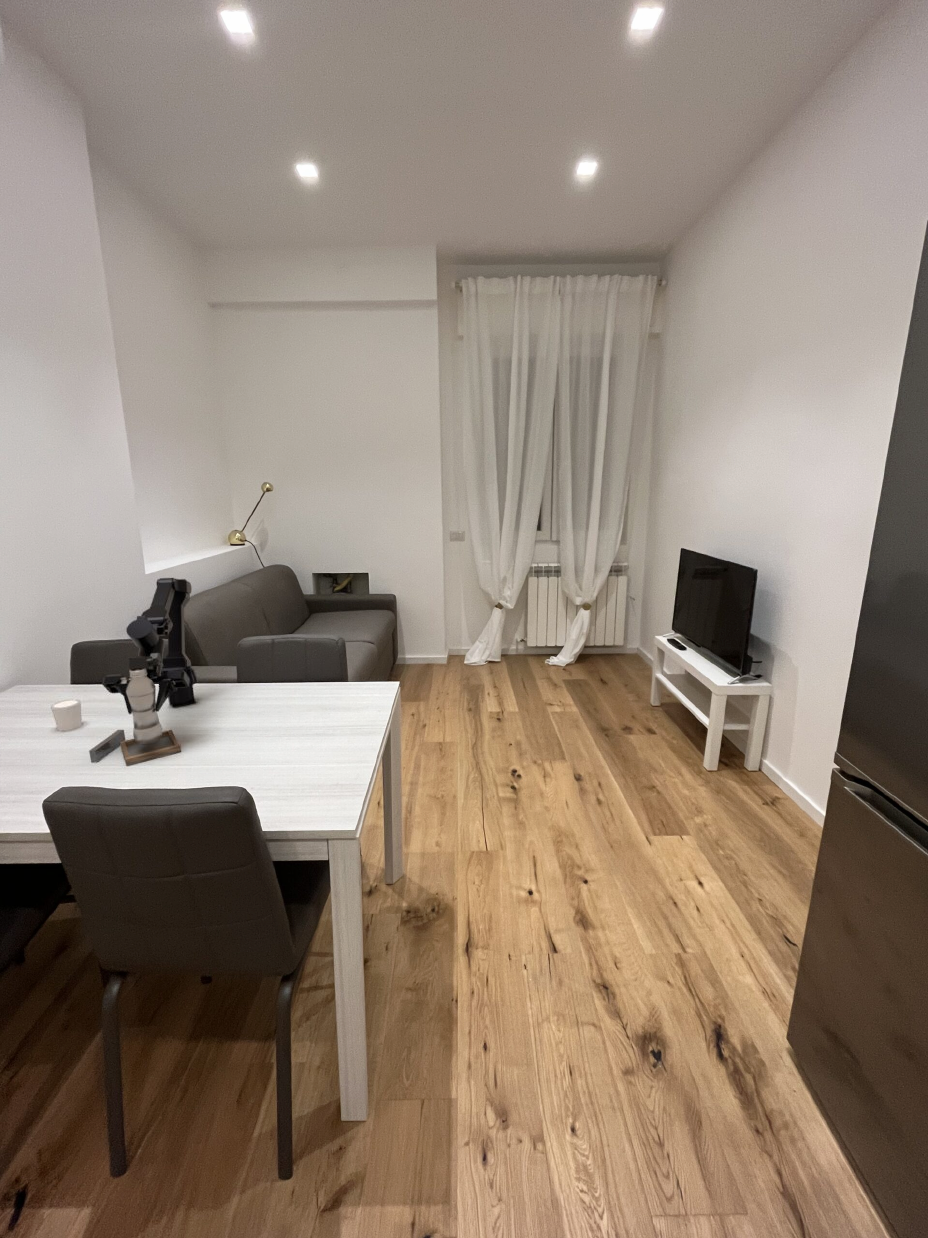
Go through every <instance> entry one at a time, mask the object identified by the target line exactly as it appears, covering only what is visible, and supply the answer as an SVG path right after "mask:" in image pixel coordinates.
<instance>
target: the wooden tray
mask: <svg viewBox="0 0 928 1238" xmlns="http://www.w3.org/2000/svg"><path fill="white" fill-rule="evenodd" d="M119 746H120V749H121V753H122V755H123V759H124V762H125V766H126V767H127V766H132V764H133V765H136V764H140V763H144V762H147V761H151V760H155V759H158V758H162V757H166V756H171V755H175V754H178V753H181V752H182V748H181V744H180V742H179V741H178V738H177V737H176V735H175V734H174V732H173V730H172V729H169V730H165V731H162V737H161V739H160V740H159V741H157V742H155V743H153V744H149V745H140V744H138V743H137V742H136V741H135V739H134V738H131V739H130V738H129V739H125V741H121V742H120V745H119Z"/></svg>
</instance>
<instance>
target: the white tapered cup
mask: <svg viewBox="0 0 928 1238" xmlns="http://www.w3.org/2000/svg"><path fill="white" fill-rule="evenodd" d="M50 709H51V713H52V716H53V719H54V721H55V725H56V727H57V728H56V729H57V730H58V731H60V732H68V731H73V730H76V729H79V728H80V727H81V726H83V721H82V719H83V718H82V716H83V715H82V702H81V701H80V699H65V700H61V701H58V702H55V703H53V704H51V705H50ZM78 727H79V728H78Z"/></svg>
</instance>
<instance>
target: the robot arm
mask: <svg viewBox="0 0 928 1238" xmlns="http://www.w3.org/2000/svg"><path fill="white" fill-rule="evenodd" d="M192 588H193V587H192V584H191V582H190V581H188V580H187V579H186V578H181V579H180V578H175V577H161V578H158V579H156V589H155V591H154V594H153V598H152V601H151V603H150V606H149V608H148V609H146V610H144V611H142V613H141V615H137V616H136V619H135V620H133V621H132V622H129V624H128V626H126V629H125V630H126V634H127V636H128V637H129V638H130V640H131V641H132V642H133V644H134V645H135V646H136V647H137V648H139V649H138V655H136V656H134V657H133V656H132V657H127V671H128V672H130V670H134V669H145V668H146V669H147V673H148V674H147V677H148V678H149V679H151V680H152V681H153V683H154V684H155V685H158V692H157V696H156V709H155V710H156V712H157V713H158V712H159V711H160V710H161V708H162V707H163V705H164V704H165V703H166V700H168V704H169V705H170V706H172V708H174V709H175V708H178V707H179V708H180V707H183V706H188V705H193V704H196V703H197V701H196V700H195V695H194V685H195V684H197V683H198V677H197V673H196V671H195V669H194V668H193V666H192V661H191V660H190V659H189V657H188V656H187V654H186V643H185V640H186V638H185V637H186V634H185V630H186V629H185V607H186V606H187V604H188V603H189V601H190V596H191V594H192ZM161 636H167V654H166V656H165V657H164V651H165V649H166V648H165V640H164V639H163V638H162V637H161ZM131 679H132V678H130V677H129V678H128V677H125V676H124V675H123V674H122V673H119V674H118V673H117V674H107V675H105V676H104V677H103V678H102V683H101V684H102V686H103V688H105V689H106V690H107V692H108V693H110V694H120V695H121V696H123V698H124V702H125V705H126V706H125V707H126V710H127V713H128V714H129V715H131V714H133V713H132V709H131V705H130V702H129V699H128V696H127V693H126V689H127V686H128V684H129V682H130V681H131Z"/></svg>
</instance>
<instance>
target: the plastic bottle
mask: <svg viewBox="0 0 928 1238" xmlns="http://www.w3.org/2000/svg"><path fill="white" fill-rule="evenodd" d="M147 674H148V673H147V669H146V668H145V669H134V670H130V671H129V678H132V679H131V681H130V682H129V684H128V686H127V689H126V693H127V696H128V699H129V702H130V705H131V709H132V713H131V714H132V719H133V720H132V721H133V732H132V733H133V734H132V735H133V739H135V741H136V742H137V743H138V744H140V745H149V744H153V743H155V742H157V741H159V740H160V739H161V737H162V732H163V727H162V724H161V721H160V719H159V715H158V712H156V710H155V709H156V701H157V696H156V684H154V683H153V681H152V680H151V679H149V678H148V677H147Z"/></svg>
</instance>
